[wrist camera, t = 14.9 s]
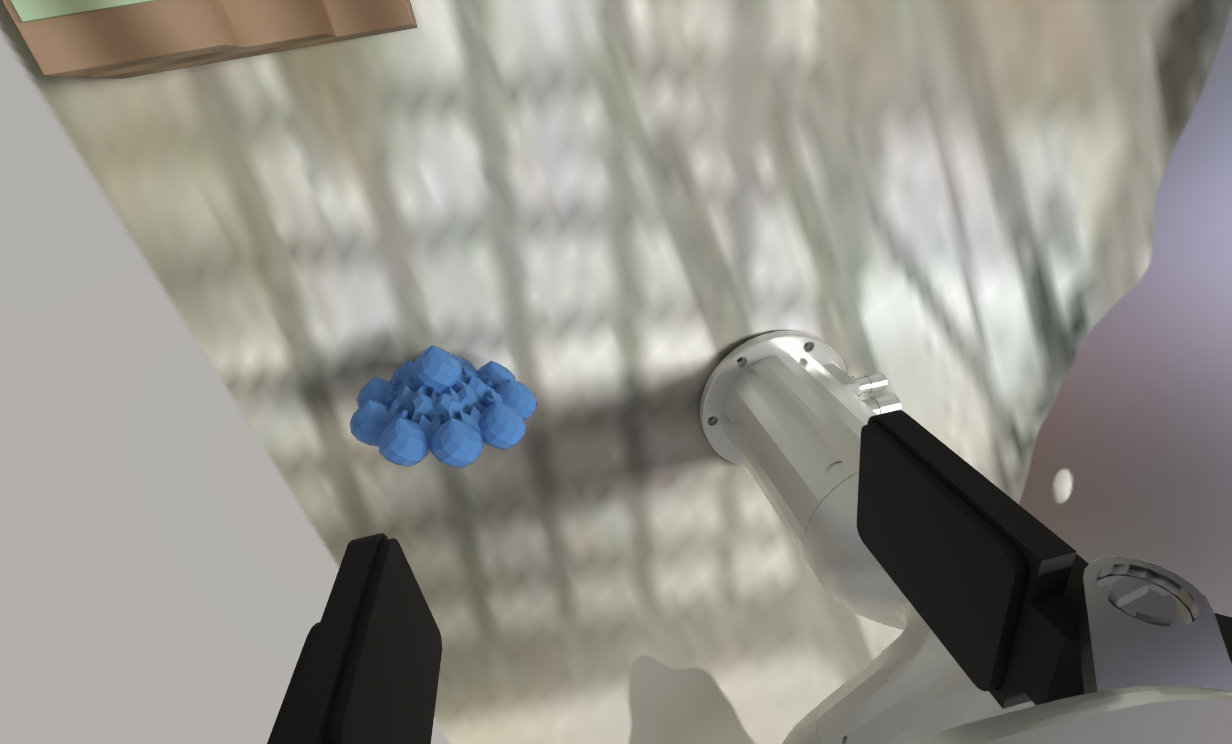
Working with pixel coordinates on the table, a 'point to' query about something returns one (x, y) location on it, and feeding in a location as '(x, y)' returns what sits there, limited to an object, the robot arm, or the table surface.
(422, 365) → the grapes
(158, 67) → the step riser
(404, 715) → the robot arm
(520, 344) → the table surface
